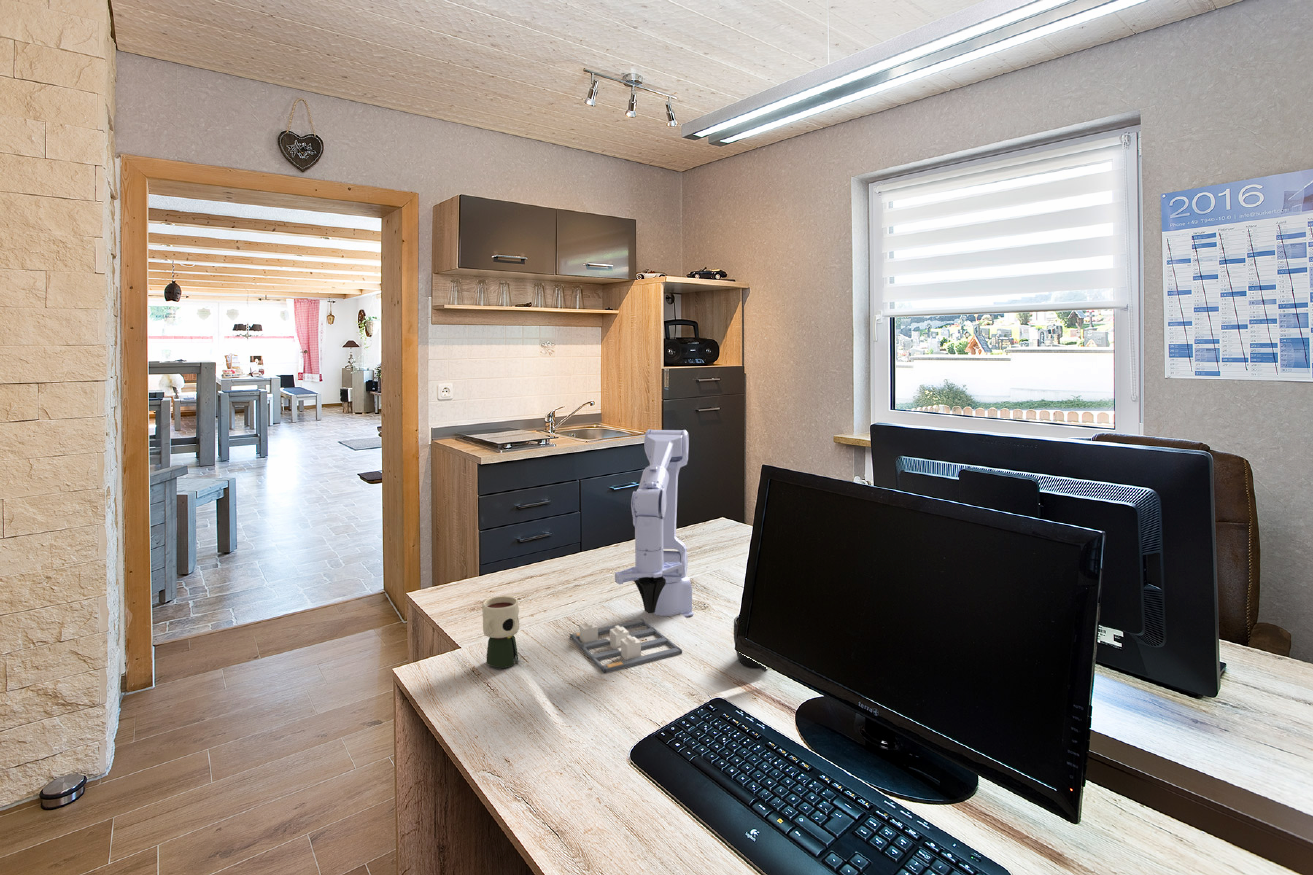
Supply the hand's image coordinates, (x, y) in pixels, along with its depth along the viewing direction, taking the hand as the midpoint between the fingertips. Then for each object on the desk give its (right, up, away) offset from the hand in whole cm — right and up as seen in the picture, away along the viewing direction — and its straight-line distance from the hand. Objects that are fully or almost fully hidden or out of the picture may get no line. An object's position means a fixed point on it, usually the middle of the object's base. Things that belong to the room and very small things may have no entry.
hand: (649, 611), depth 138 cm
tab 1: (-13, -8, +5) cm, 16 cm away
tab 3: (-4, -9, -2) cm, 10 cm away
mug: (+21, -10, -2) cm, 24 cm away
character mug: (-30, -10, -2) cm, 31 cm away
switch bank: (-5, -9, +4) cm, 11 cm away
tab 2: (-6, -8, +3) cm, 11 cm away
